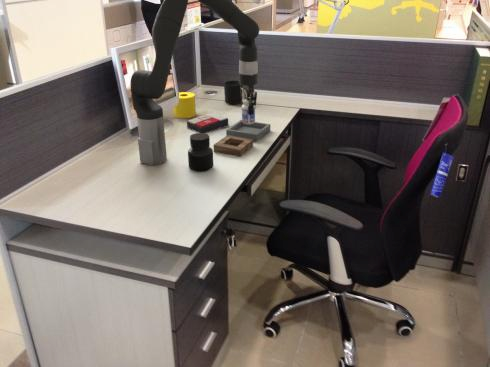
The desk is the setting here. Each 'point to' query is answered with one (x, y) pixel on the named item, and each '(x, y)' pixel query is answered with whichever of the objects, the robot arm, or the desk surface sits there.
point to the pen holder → (232, 92)
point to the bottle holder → (233, 145)
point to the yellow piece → (185, 105)
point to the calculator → (207, 123)
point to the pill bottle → (245, 116)
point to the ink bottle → (200, 153)
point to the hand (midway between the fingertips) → (248, 112)
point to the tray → (249, 130)
